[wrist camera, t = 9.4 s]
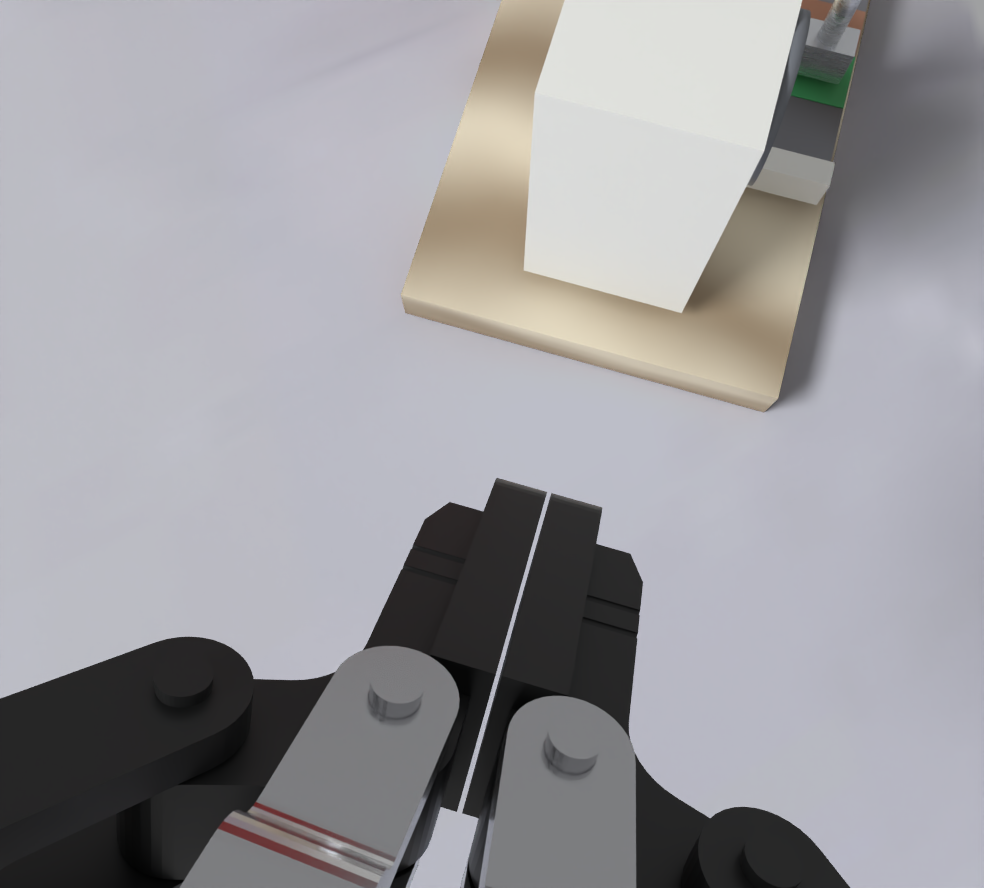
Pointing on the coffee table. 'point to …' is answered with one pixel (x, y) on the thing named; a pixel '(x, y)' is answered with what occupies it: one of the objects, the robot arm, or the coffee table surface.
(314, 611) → the coffee table surface
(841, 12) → the grey metal lever
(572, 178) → the block
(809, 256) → the gauge stand
